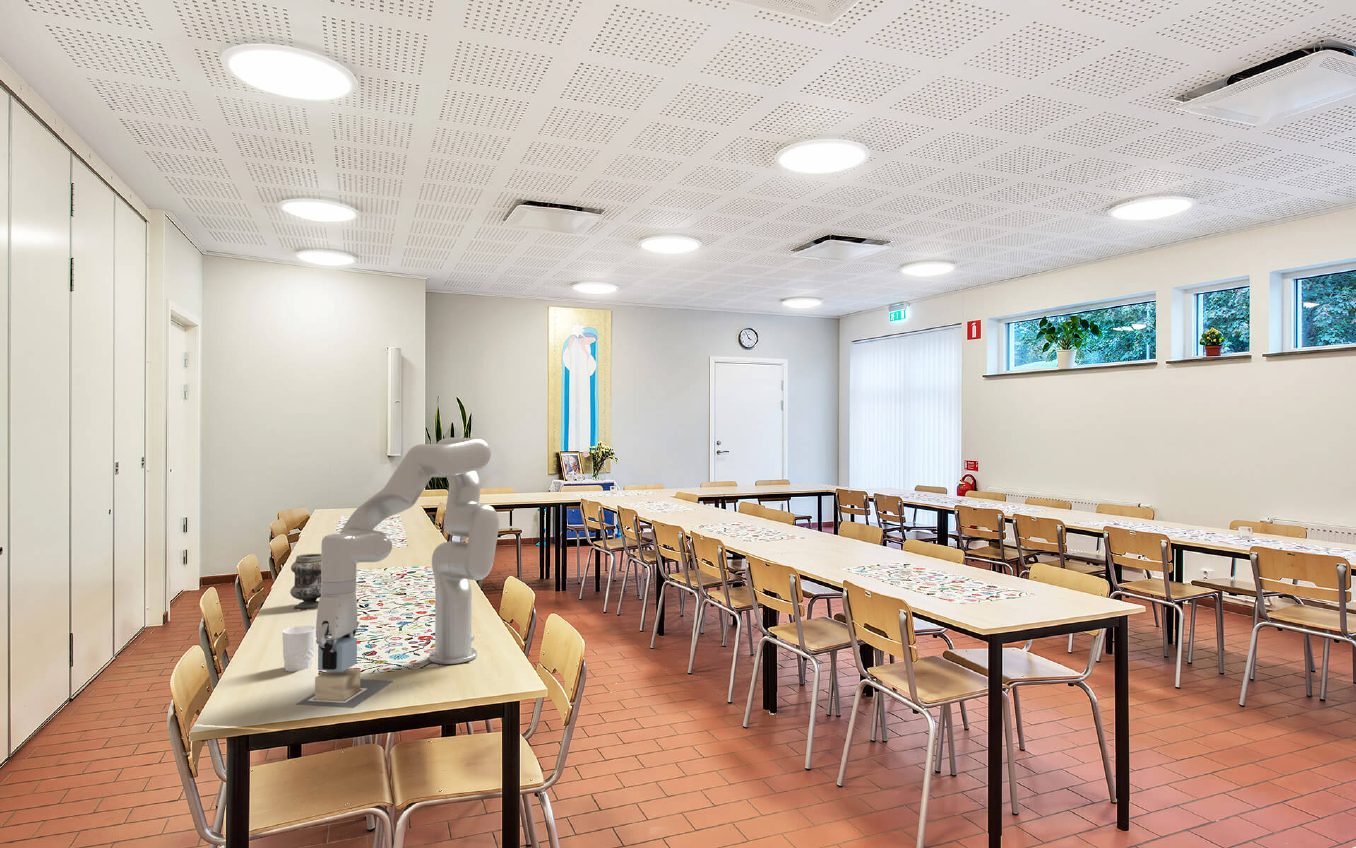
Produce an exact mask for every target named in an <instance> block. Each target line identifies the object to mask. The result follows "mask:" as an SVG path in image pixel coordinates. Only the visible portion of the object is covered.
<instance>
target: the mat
mask: <svg viewBox="0 0 1356 848" xmlns="http://www.w3.org/2000/svg"><path fill="white" fill-rule="evenodd" d="M393 682H394V680H388V679H387V680H385V679H370V678H369V679H367V678H365V679H364V678H360V691H358V692H357V693H355V694H354V695H352V696H351V697H349V698H347V699H346V700H344V701H336V700H318V699H315V692H314V693H313V694H310V695H309V696H307V697H305V698H304V699H302V700H300V701H298V702H297V703H295V706H296V705H297V706H312V707H314V706H317V707H331V708H332V707H334V708H351V709H353V708H355V707H357V706H359V705H360V704H361V703H364V702H365V701H366V700H368V699H369V698H371V697H372V696H373V695H375V694H377V693H378V692H379V691H381V690H383V689H384V688H385V687H387V686H388V685H390V684H392V683H393Z"/></svg>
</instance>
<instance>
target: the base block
mask: <svg viewBox="0 0 1356 848" xmlns="http://www.w3.org/2000/svg"><path fill="white" fill-rule="evenodd" d="M360 679H361V669H358V668H348V669H346V670H344V671H325V672H323V673H321V674H319V675H317V676H315V677H314V693H315V699H318V700H336V701H344V700H346V699H347V698H349V697H351V696H352V695H354V694H355V693H357V692H358V691H360Z"/></svg>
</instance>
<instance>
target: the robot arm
mask: <svg viewBox="0 0 1356 848" xmlns="http://www.w3.org/2000/svg"><path fill="white" fill-rule="evenodd" d="M491 453H492V452H491V447H490V446H489V444H488V443H487V442H486V441H485V440H483V439H481V438H477V437H446V438H442V439H440V440H438V441H437V443H435V444H434V443H421V444H417V445H414V446H412V447H411V448H410V449H409V450H408V451H407V453H406V454H405V456H404V457H403V458H402V460H401V462H400V463H399V464H398V466H397V468H396V469H395V470H394V472H393V473H392V475H391V477H390V479H388V481H387V483H386V484H385V486H384V487H383V488H382V489H381V490H380V491H378V492H377V493H375V494H374V495H372V497H370V498H369V499H367V500H366V501H365V502H364V503H362V504H361V505H360V506H358V507H357V509H355V511H353V513H352V514H351V515H350V517H348V519H347V521H346V522H345V523H344V525H343V527H342V529H341V530H340V531H339V533H331V534H327V535H325V536H324V537H323V538H322V539H321V553H320V554H321V595H322V596H320V598H318V601H319V604H318V608H317V613H316V624H315V627H316V639H315V644H317V646H318V645H319V647H320V648H321V652H322V668H323V669H328V670H335V669H336V667H337V652H334V651H335V647H336V643H337V639H338V638H340V637H343V638H355V636H356V634H357V633H356V632H357V629H358V627H359V621H358V602H357V564H358V563H377V562H381V561H383V560H385V559H386V558H387V557H389V555H390V554H391V551H392V549H393V542H392V539H391V537H390V536H389V535H388V534H387V533H385V532H383V531H380V530H374V529H375V528H376V527H377V526H378V525H380V524H381V523H383V522H384V521H385V520H386V519H388V518H390V517H392V516H394V515H398V514H399V513H402V512H405V511H406V510H407V511H408V509H411V508H412V507H413V506H415V504H416V503H417V501H418V499H419V498H420V496H421V495H422V493H423V491H424V490H425V488H426V487H427V485H428V483H429V482H430V480H431V479H432V478H447V479H448V490H447V491H448V493H447V498H446V499H447V500H446V506H445V511H444V517H443V529H444V530H445V532H446V533H447V534H449V535H451V536H453V537H458V538H467V542H464V541H454V540H452V541H451V540H450V541H445V542H442V543H440V544H439V545H437V546H436V548H435V549H434V550H433V553H432V556H431V568H432V572H433V577H434V584H435V585H434V586H435V588H434V589H435V590H434V591H435V601H434V604H435V606H434V610H435V611H434V612H435V613H434V614H435V615H434V616H435V618H434V619H435V620H434V625H435V626H434V628H435V630H434V650H433V651H432V652H430V653H429V655H428V660H429V661H430V662H432V663H433V664H438V665H439V664H441V665H455V664H461V663H467V662H469V661H472V660H474V659H476V657H477V656H478V651H477V649H475V648H473V647H472V642H473V641H474V640H475V636H474V634H472V618H473V617H472V615H473V614H472V610H473V609H472V608H473V607H472V605H473V603H472V601H473V600H472V599H473V597H472V596H473V594H472V593H473V592H472V587H471V586H472V585H471V583H470V580H471V581H480V580H481V581H482V580H484V579H485V578H486V577H488V575H489V574H490V573H491V571H492V568H493V565H494V561H495V556H496V548H497V542H498V536H499V530H500V528H499V527H500V522H499V515H498V512H497V511H496V509H495V508H494V507H493V506H492V505H489V504H486V503H480V495H481V479H480V476H479V473H478V472H477V471H479V470H482V469H483V468H484V467H486V466H487V465H488V463H489V462H490V460H491V455H492V454H491ZM329 636H331V637H329ZM328 641H332V643H331V645H330V644H329V643H328Z"/></svg>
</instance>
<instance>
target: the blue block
mask: <svg viewBox="0 0 1356 848" xmlns="http://www.w3.org/2000/svg"><path fill="white" fill-rule="evenodd" d="M328 643H329V644H330V645H331V643H332V641H328ZM317 648H318V649H317V671H325V672H326V671H344V670H346V669H351V667H353V666H355V665H356V664H357V663H358V662H357V661H358V638H357V637H354V638H343V637H340V638H338V639H337V643H336V647H335V651H334V652H337V667H336V669H335V670H328V669H323V668H322V652H321V648H320V647H319V645H318V644H317Z"/></svg>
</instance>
